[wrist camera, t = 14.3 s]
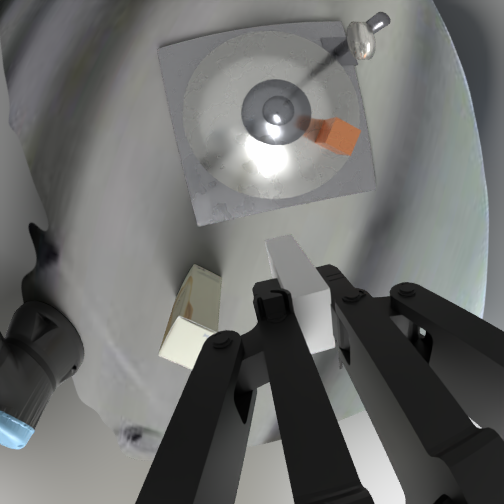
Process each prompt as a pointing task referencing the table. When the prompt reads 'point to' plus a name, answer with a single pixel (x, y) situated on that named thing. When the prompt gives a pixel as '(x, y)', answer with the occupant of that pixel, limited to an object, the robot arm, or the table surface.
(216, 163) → the platter
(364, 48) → the post
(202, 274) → the skincare box
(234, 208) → the turntable base
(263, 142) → the cover
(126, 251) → the table surface
